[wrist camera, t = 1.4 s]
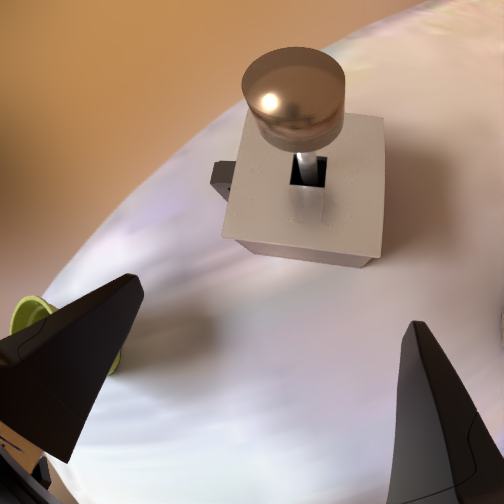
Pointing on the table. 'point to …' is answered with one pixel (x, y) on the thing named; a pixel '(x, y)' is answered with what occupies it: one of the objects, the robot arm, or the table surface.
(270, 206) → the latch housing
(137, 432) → the table surface
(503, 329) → the ceramic sculpture
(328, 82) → the bronze domed cylinder
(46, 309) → the plant pot
